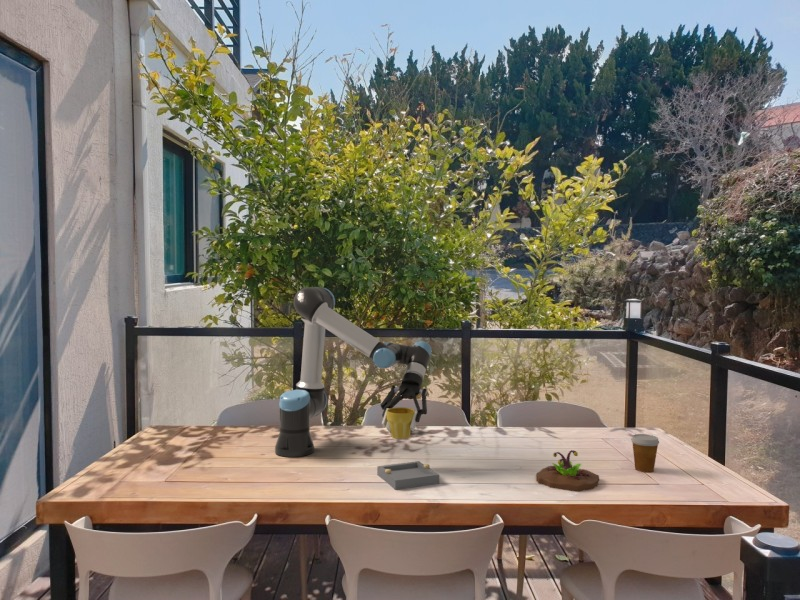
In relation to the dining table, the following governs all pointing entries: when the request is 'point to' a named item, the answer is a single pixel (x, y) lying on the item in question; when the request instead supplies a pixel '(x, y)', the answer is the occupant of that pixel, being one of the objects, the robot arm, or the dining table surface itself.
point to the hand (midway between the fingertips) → (397, 427)
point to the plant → (567, 475)
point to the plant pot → (400, 422)
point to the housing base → (408, 475)
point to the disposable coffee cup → (644, 451)
